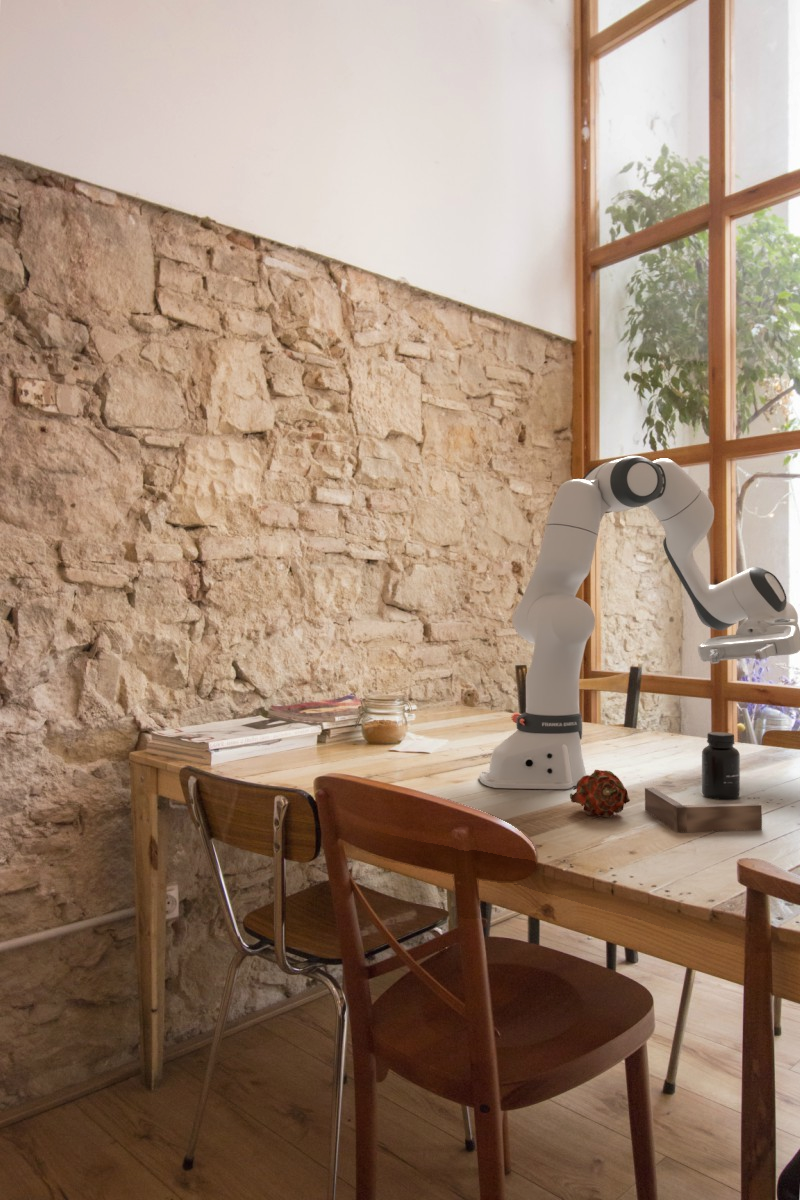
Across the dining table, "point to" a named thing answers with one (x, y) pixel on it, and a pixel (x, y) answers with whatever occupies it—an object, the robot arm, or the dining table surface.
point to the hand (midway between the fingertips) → (735, 657)
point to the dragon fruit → (600, 794)
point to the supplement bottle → (720, 767)
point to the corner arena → (703, 814)
